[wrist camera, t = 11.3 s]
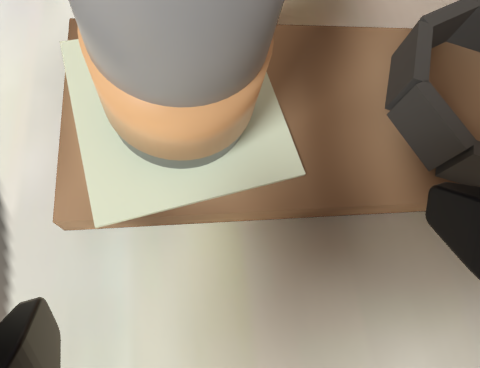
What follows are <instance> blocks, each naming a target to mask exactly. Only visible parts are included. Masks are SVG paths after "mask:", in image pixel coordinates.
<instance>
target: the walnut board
mask: <svg viewBox="0 0 480 368" xmlns="http://www.w3.org/2000/svg"><path fill="white" fill-rule="evenodd" d="M77 30H78V25H77V22H76V20H75V19H72V18H70V21H69V33H68V40H75V39H78V32H77ZM411 30H412V29H408V28H374V27H340V26H307V25H276V28H275V31H274V34H273V40H274V45H273V51H272V56H271V59H270V62H269V65H268V68H267V71H266V72H267V74H268V77H269V80H270V82H271V85H272V87H273V90H274V93H275V95H276V98H277V100H278V103H279V106H280V108H281V111H282V114H283V116H284V119H285V121H286V124H287V127H288V129H289V132H290V134H291V137H292V140H293V142H294V145H295V147H296V150H297V153H298V155H299V158H300V161H301V163H302V166H303V168H304V171H305V175H304V176H300V177H296V178H292V179H288V180H285V181H281V182H277V183H273V184H269V185H265V186H261V187H257V188H253V189H249V190H245V191H241V192H237V193H233V194H229V195H225V196H222V197H218V198H214V199H210V200H206V201H202V202H198V203H194V204H190V205H186V206H182V207H178V208H174V209H170V210H166V211H162V212H159V213H155V214H151V215H147V216H143V217H139V218H135V219H131V220H127V221H123V222H119V223H115V224H111V225H107V226H103V227H99V228H95V226H94V220H93V215H92V210H91V205H90V199H89V194H88V189H87V183H86V178H85V173H84V168H83V162H82V157H81V152H80V147H79V141H78V136H77V131H76V125H75V120H74V115H73V110H72V104H71V99H70V94H69V89H68V83H67V78H66V73H65V81H64V93H63V105H62V117H61V129H60V141H59V153H58V165H57V177H56V189H55V201H54V213H53V223H55V224H56V225H58V226H59V227H61V228H62V229H63V230H83V229H102V228H120V227H139V226H157V225H176V224H194V223H213V222H231V221H250V220H268V219H287V218H305V217H324V216H342V215H361V214H379V213H398V212H416V211H426V207H427V199H428V192H429V189H430V188H431V187H432V186H433V185H437V184H440V183H444V182H452V183H456V182H453V181H450V180H446V179H443V178H440V177H436V176H435V171H436V168H434V169H433V170H431V171H428V170H427V168H426V167H425V166H424V164H423V163H422V162H421V160H420V159H419V158H418V156H417V155H416V154H415V152H414V151H413V150H412V148H411V147H410V146H409V144H408V143H407V142H406V140H405V139H404V138H403V136H402V135H401V134H400V132H399V131H398V130H397V128H396V127H395V126H394V124H393V123H392V122H391V120H390V119H389V118H388V116H387V114H388V113H389V112H390V110H387V109H385V102H386V94H387V87H388V79H389V72H390V64H391V57H392V55H393V53H394V52H395V51H396V50H397V48H398V47H399V46H400V44H401V43H402V42H403V41H404V39H405V38H406V37H407V35H408V34H409V33H410V32H411ZM429 82H430V83H431V84H432V86H433V87H434V88H435V89H436V90H437V92H438V93H439V94H440V95H441V97H442V98H443V99H444V100H445V102H446V103H447V104H448V105H449V107H450V108H451V109H452V110H453V112H454V113H455V114H456V115H457V117H458V118H459V119H460V120H461V122H462V123H463V124H464V125H465V127H466V128H467V129H468V130H469V131H470V133H471V134H472V135H473V136H474V138H475V139H476V140H478V141H480V52H477V51H474V50H471V49H468V48H465V47H461V46H458V45H455V44H452V43H449V42H444V43H442V44H440V45H438V46H436V47H434V48H431V60H430V72H429ZM458 184H460V183H458Z"/></svg>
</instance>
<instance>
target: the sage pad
mask: <svg viewBox="0 0 480 368" xmlns="http://www.w3.org/2000/svg"><path fill="white" fill-rule="evenodd" d="M60 46H61V52H62V57H63V62H64V67H65V73H66V78H67V83H68V89H69V94H70V99H71V104H72V110H73V115H74V120H75V125H76V131H77V136H78V141H79V147H80V152H81V157H82V162H83V168H84V173H85V178H86V183H87V189H88V194H89V199H90V205H91V210H92V215H93V220H94V226H95V228H99V227H103V226H107V225H111V224H115V223H119V222H123V221H127V220H131V219H135V218H139V217H143V216H147V215H151V214H155V213H159V212H162V211H166V210H170V209H174V208H178V207H182V206H186V205H190V204H194V203H198V202H202V201H206V200H210V199H214V198H218V197H222V196H225V195H229V194H233V193H237V192H241V191H245V190H249V189H253V188H257V187H261V186H265V185H269V184H273V183H277V182H281V181H285V180H288V179H292V178H296V177H300V176H304V175H305V171H304V168H303V166H302V163H301V161H300V158H299V155H298V153H297V150H296V147H295V145H294V142H293V140H292V137H291V134H290V132H289V129H288V127H287V124H286V121H285V119H284V116H283V114H282V111H281V108H280V106H279V103H278V100H277V98H276V95H275V93H274V90H273V87H272V85H271V82H270V80H269V77H268V74H267V72H266V74H265V77H264V80H263V83H262V86H261V89H260V92H259V95H258V98H257V101H256V104H255V107H254V110H253V113H252V116H251V119H250V121H249V123H248V125H247V127H246V129H245V130H244V131H243V133H242V134H241V136H240V138H239V140H238V141H237V143H236V144H235V145H234V146H233V148H232V149H231V150H230V151H229V152H227V153H226V154H225V155H224V156H222V157H221V158H219V159H217V160H216V161H214V162H211V163H209V164H206V165H203V166H200V167H195V168H188V169H175V168H167V167H162V166H159V165H155V164H152V163H150V162H148V161H146V160H144V159H142V158H141V157H139V156H137V155H136V154H135V153H133V152H132V151H131V150H130V149H129V148H128V147H127V146H126V145H125V144H124V143H123V141H122V140H121V139H120V137H119V136H118V134H117V132H116V131H115V130H114V128H113V127H112V125H111V124H110V122H109V120H108V118H107V116H106V114H105V111H104V109H103V106H102V104H101V101H100V98H99V96H98V93H97V90H96V88H95V85H94V83H93V80H92V77H91V75H90V72H89V70H88V67H87V64H86V62H85V59H84V56H83V54H82V51H81V48H80V44H79V40H78V39H75V40H68V41H61V42H60Z"/></svg>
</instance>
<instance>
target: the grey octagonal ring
mask: <svg viewBox="0 0 480 368" xmlns="http://www.w3.org/2000/svg"><path fill="white" fill-rule="evenodd" d="M444 42H449V43H452V44H455V45H458V46H461V47H465V48H468V49H471V50H474V51H477V52H480V0H459V1H457V2H454V3H452V4H450V5H447V6H445V7H443V8H440V9H438V10H436V11H433V12H431V13H429V14H426V15H424V16H422V17H421V19H420V20H419V21H418V23H417V24H416V25H415V26H414V28H413V29H412V30H411V32H410V33H409V34H408V35H407V37H406V38H405V39H404V41H403V42H402V43H401V44H400V46H399V47H398V48H397V50H396V51H395V52H394V53H393V55H392V57H391V64H390V72H389V79H388V87H387V94H386V102H385V109H387V110H390V112H389V113H388V114H387V116H388V118H389V119H390V120H391V122H392V123H393V124H394V126H395V127H396V128H397V130H398V131H399V132H400V134H401V135H402V136H403V138H404V139H405V140H406V142H407V143H408V144H409V146H410V147H411V148H412V150H413V151H414V152H415V154H416V155H417V156H418V158H419V159H420V160H421V162H422V163H423V164H424V166H425V167H426V168H427V170H428V171H431V170H433V169H434V168H436V171H435V176H436V177H440V178H443V179H446V180H450V181H453V182H456V183H460V184H465V185H472V186H478V187H480V141H478V140H476V139H475V138H474V136H473V135H472V134H471V133H470V131H469V130H468V129H467V128H466V127H465V125H464V124H463V123H462V122H461V120H460V119H459V118H458V117H457V115H456V114H455V113H454V112H453V110H452V109H451V108H450V107H449V105H448V104H447V103H446V102H445V100H444V99H443V98H442V97H441V95H440V94H439V93H438V92H437V90H436V89H435V88H434V87H433V86H432V84H431V83H430V82H429V72H430V60H431V48H434V47H436V46H438V45H440V44H442V43H444Z"/></svg>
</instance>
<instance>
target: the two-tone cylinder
mask: <svg viewBox="0 0 480 368" xmlns="http://www.w3.org/2000/svg"><path fill="white" fill-rule="evenodd" d="M283 2H284V0H69V3H70V6H71V8H72V11H73V14H74V17H75V20H76V22H77V25H78V30H77V32H78V40H79V44H80V48H81V51H82V54H83V56H84V59H85V62H86V64H87V67H88V70H89V72H90V75H91V77H92V80H93V83H94V85H95V88H96V90H97V93H98V96H99V98H100V101H101V104H102V106H103V109H104V111H105V114H106V116H107V118H108V120H109V122H110V124H111V125H112V127H113V128H114V130H115V131H116V132H117V134H118V136H119V137H120V139H121V140H122V141H123V143H124V144H125V145H126V146H127V147H128V148H129V149H130V150H131V151H132V152H133V153H135V154H136V155H137V156H139V157H141V158H142V159H144V160H146V161H148V162H150V163H152V164H155V165H159V166H162V167H167V168H175V169H188V168H195V167H200V166H203V165H206V164H209V163H211V162H214V161H216V160H217V159H219V158H221V157H222V156H224V155H225V154H226V153H227V152H229V151H230V150H231V149H232V148H233V146H234V145H235V144H236V143H237V141H238V140H239V138H240V136H241V134H242V133H243V131H244V130H245V129H246V127H247V125H248V123H249V121H250V119H251V116H252V113H253V110H254V107H255V104H256V101H257V98H258V95H259V92H260V89H261V86H262V83H263V80H264V77H265V74H266V71H267V68H268V65H269V62H270V59H271V56H272V51H273V45H274V40H273V34H274V31H275V28H276V25H277V22H278V18H279V15H280V12H281V9H282V6H283Z"/></svg>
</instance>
